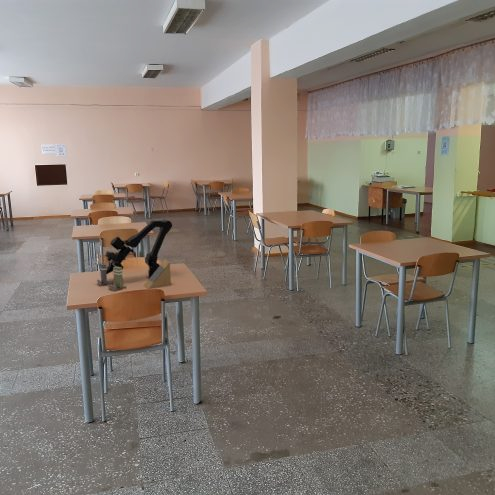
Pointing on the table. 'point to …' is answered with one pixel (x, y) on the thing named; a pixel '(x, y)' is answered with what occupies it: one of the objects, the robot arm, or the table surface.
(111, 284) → the key rack
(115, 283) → the green striped block
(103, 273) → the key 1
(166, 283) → the sandwich container
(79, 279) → the table surface
